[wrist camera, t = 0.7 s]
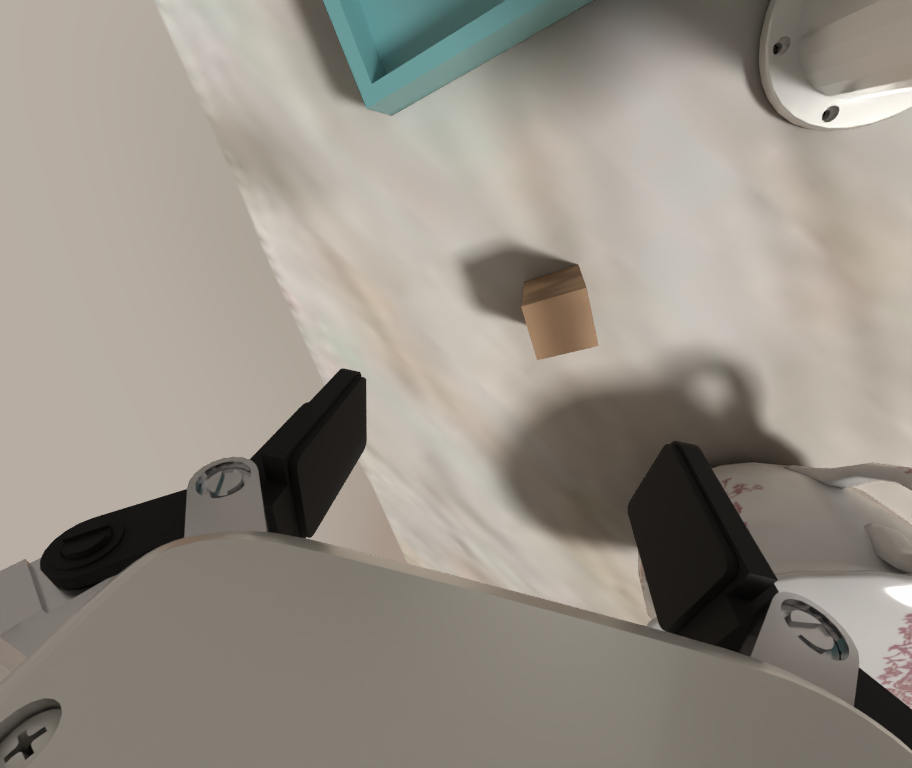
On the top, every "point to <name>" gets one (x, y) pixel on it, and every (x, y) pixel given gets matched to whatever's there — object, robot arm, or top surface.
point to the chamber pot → (833, 553)
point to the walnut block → (558, 313)
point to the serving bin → (430, 41)
